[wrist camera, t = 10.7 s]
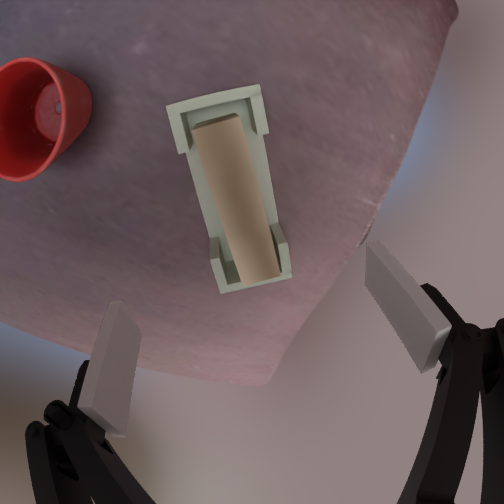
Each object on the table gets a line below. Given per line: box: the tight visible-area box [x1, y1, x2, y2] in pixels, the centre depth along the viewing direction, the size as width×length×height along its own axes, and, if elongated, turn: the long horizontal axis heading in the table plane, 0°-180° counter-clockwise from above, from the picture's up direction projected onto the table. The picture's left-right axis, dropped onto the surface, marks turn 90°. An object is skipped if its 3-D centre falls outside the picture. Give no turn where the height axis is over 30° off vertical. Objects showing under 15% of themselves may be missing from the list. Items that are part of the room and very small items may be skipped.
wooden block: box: [192, 112, 281, 286], centre depth 29 cm, size 4×16×6 cm, turn 14°
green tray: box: [166, 84, 293, 294], centre depth 29 cm, size 8×20×5 cm, turn 11°
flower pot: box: [0, 57, 92, 182], centre depth 20 cm, size 11×11×10 cm
